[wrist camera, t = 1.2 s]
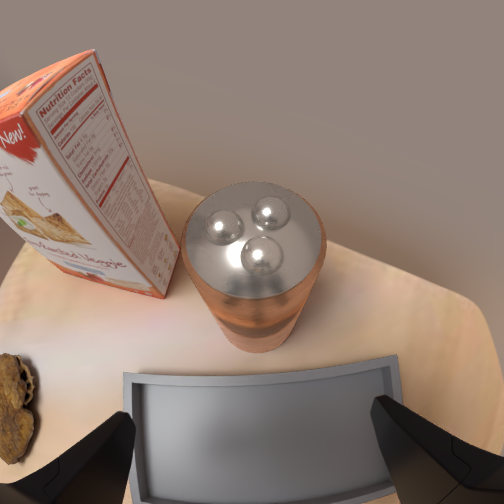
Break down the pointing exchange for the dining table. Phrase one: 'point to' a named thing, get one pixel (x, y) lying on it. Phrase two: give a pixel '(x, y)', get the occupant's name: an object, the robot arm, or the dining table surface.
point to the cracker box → (81, 180)
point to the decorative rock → (14, 408)
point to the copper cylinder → (254, 260)
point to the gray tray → (260, 436)
